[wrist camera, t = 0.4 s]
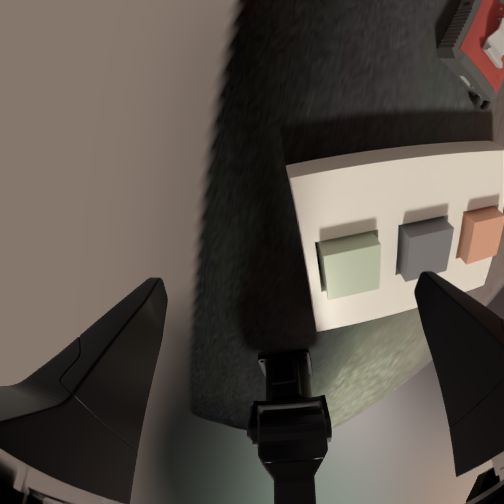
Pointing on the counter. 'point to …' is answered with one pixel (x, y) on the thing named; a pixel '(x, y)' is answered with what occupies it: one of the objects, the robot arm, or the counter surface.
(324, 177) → the three-button panel
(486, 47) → the walkie-talkie
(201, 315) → the counter surface
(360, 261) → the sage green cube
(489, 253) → the terracotta key
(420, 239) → the charcoal key
